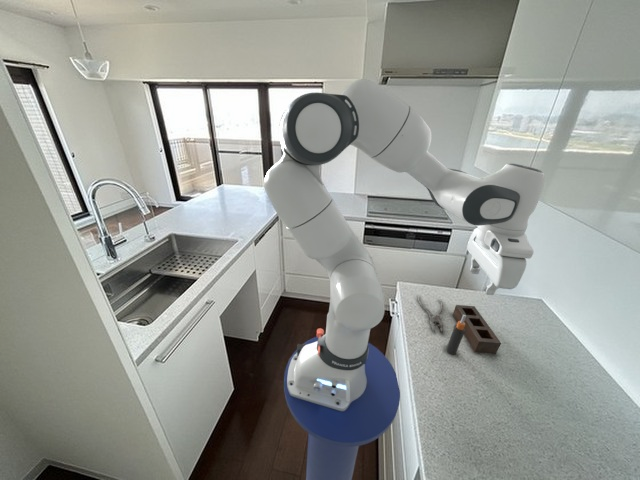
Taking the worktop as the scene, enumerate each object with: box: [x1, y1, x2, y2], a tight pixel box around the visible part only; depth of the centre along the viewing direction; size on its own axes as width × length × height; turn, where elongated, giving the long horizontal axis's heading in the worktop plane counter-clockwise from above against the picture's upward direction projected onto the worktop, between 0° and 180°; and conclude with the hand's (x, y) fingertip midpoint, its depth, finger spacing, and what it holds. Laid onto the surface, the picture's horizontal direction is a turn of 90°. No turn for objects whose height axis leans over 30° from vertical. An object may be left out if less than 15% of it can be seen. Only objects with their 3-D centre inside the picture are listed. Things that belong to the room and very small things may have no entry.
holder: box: [452, 304, 502, 355], centre depth 90 cm, size 7×18×5 cm, turn 176°
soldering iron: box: [445, 315, 466, 355], centre depth 80 cm, size 3×3×15 cm
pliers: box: [417, 295, 444, 334], centre depth 99 cm, size 10×1×20 cm
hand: (480, 282), depth 67 cm, fingers open, 8 cm apart
